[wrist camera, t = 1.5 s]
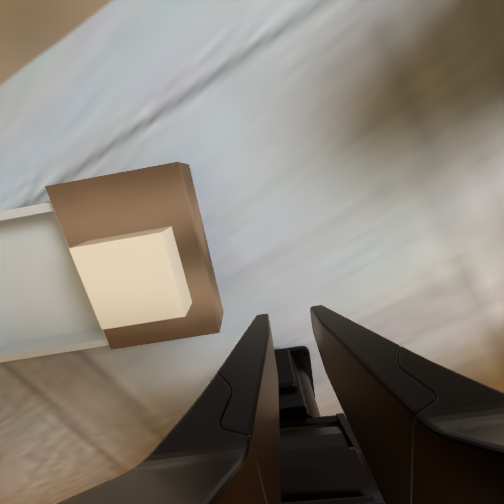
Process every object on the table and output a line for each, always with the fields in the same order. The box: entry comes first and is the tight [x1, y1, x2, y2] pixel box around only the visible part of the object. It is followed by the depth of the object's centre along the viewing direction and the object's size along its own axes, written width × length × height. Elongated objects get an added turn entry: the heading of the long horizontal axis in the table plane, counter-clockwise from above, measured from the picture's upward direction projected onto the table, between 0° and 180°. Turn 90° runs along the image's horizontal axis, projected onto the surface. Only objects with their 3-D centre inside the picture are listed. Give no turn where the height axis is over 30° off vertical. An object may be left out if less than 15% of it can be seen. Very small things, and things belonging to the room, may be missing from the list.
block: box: [69, 226, 192, 330], centre depth 17 cm, size 6×6×2 cm
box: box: [0, 202, 109, 362], centre depth 20 cm, size 12×12×2 cm
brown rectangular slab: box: [45, 162, 223, 349], centre depth 19 cm, size 13×9×3 cm
